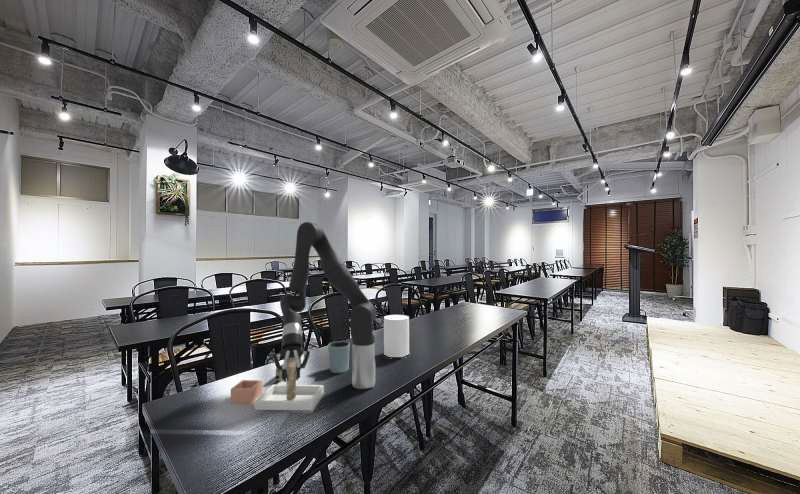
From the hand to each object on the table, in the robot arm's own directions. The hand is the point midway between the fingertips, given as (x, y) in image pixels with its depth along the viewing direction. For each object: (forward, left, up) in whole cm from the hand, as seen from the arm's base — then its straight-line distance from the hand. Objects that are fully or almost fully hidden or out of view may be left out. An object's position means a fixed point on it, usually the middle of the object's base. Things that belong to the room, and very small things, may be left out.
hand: (291, 379), depth 108 cm
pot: (+18, -3, -9) cm, 20 cm away
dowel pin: (+1, -2, -7) cm, 7 cm away
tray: (+1, -2, -9) cm, 9 cm away
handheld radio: (+12, -24, -10) cm, 28 cm away
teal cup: (-9, -34, -9) cm, 36 cm away
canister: (-35, -56, -9) cm, 67 cm away
